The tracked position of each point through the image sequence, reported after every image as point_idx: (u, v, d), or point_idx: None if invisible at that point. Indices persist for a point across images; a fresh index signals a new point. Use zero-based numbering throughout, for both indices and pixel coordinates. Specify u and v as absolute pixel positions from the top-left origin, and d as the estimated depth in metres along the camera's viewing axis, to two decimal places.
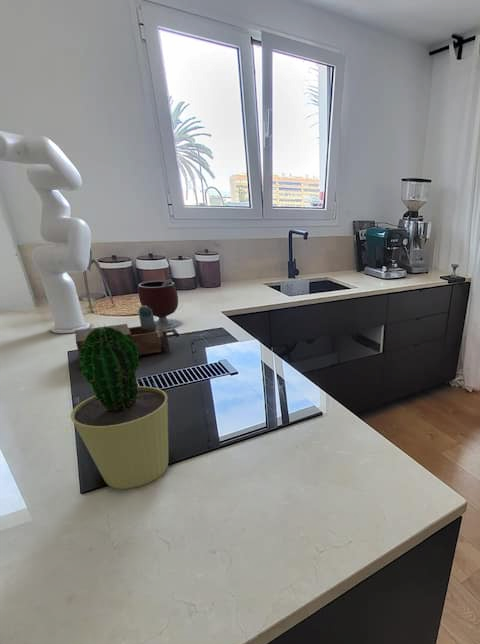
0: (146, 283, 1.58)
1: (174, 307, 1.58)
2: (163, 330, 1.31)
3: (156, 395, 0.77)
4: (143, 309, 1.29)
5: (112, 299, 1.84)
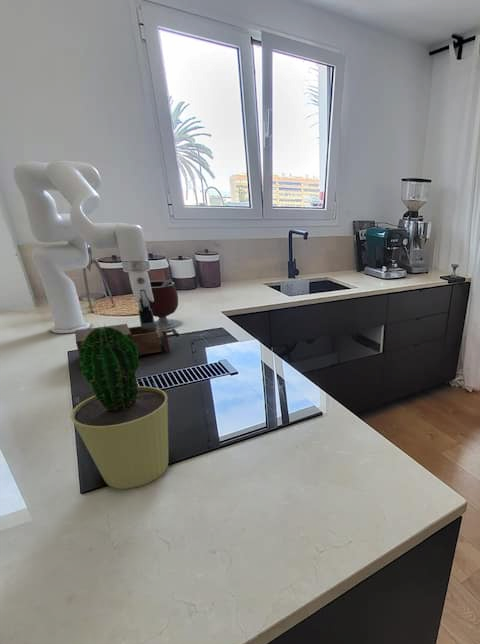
0: None
1: (174, 307, 1.58)
2: (163, 330, 1.31)
3: (156, 395, 0.77)
4: None
5: (112, 299, 1.84)
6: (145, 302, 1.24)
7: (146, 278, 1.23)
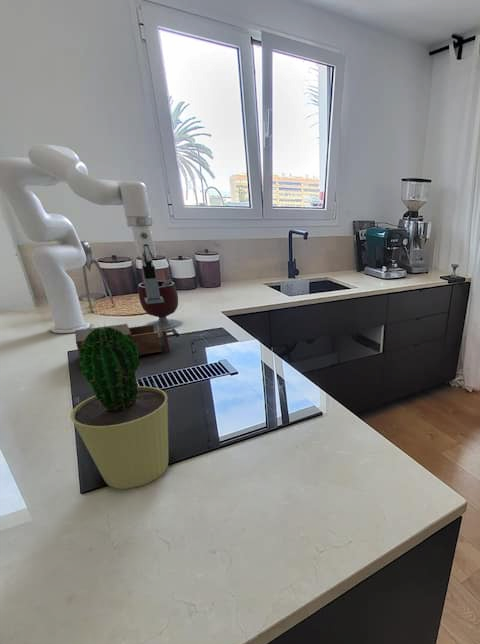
0: None
1: (174, 307, 1.58)
2: (163, 330, 1.31)
3: (156, 395, 0.77)
4: None
5: (112, 299, 1.84)
6: (148, 256, 1.31)
7: (149, 233, 1.29)
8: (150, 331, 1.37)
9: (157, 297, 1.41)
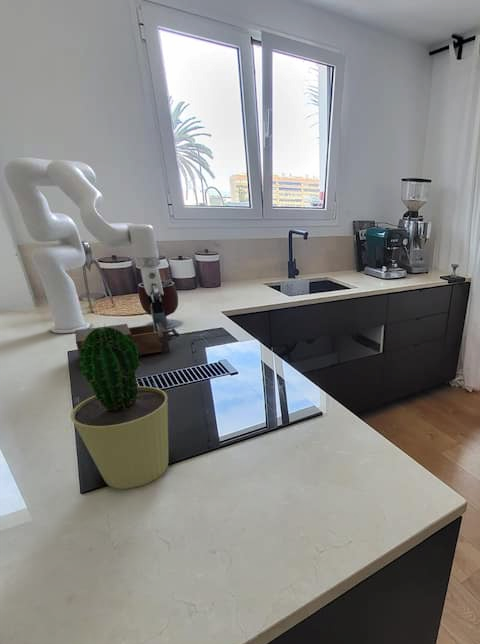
0: None
1: (174, 307, 1.58)
2: (163, 330, 1.31)
3: (156, 395, 0.77)
4: None
5: (112, 299, 1.84)
6: (154, 287, 1.35)
7: (156, 273, 1.35)
8: (150, 331, 1.37)
9: None
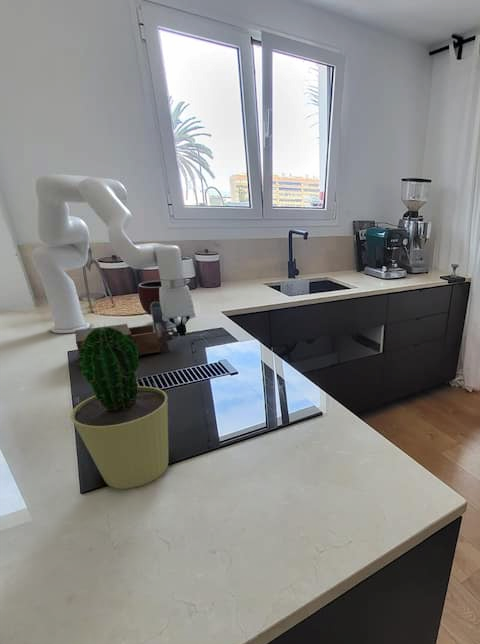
0: (146, 283, 1.58)
1: None
2: (162, 330, 1.31)
3: (156, 395, 0.77)
4: (154, 304, 1.42)
5: (112, 299, 1.84)
6: (194, 313, 1.40)
7: None
8: (149, 331, 1.37)
9: None
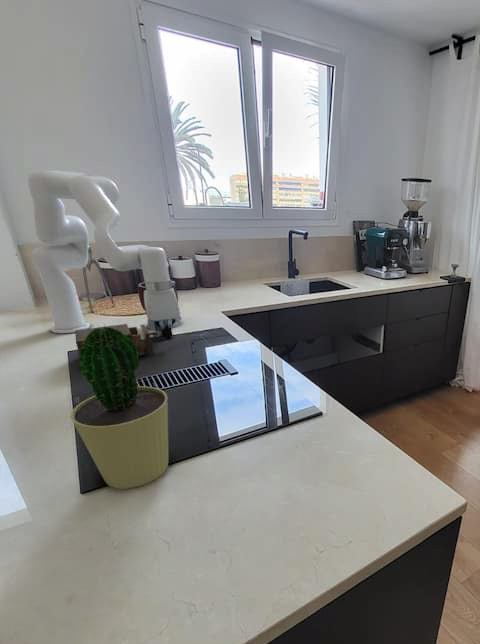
0: None
1: None
2: (146, 332, 1.28)
3: (156, 395, 0.77)
4: None
5: (112, 299, 1.84)
6: (180, 316, 1.37)
7: None
8: (133, 333, 1.34)
9: None
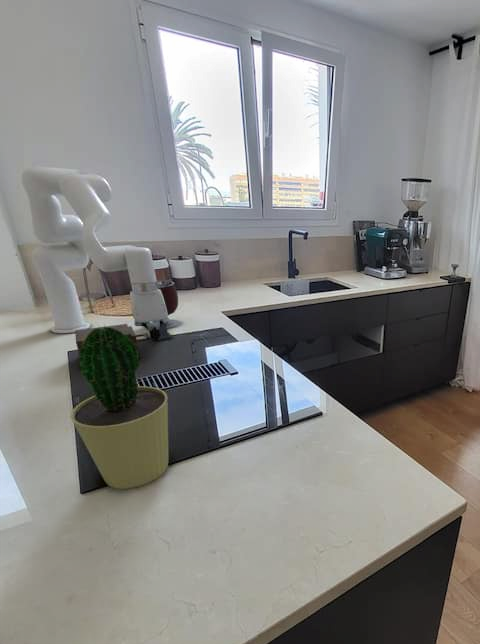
0: None
1: (174, 307, 1.58)
2: (133, 334, 1.26)
3: (156, 395, 0.77)
4: None
5: (112, 299, 1.84)
6: None
7: None
8: None
9: (165, 334, 1.47)
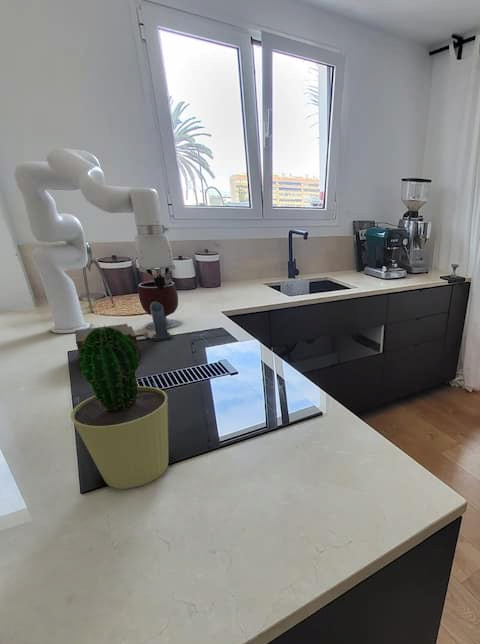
0: (146, 283, 1.58)
1: (174, 307, 1.58)
2: (133, 334, 1.26)
3: (156, 395, 0.77)
4: (154, 304, 1.42)
5: (112, 299, 1.84)
6: None
7: None
8: None
9: (165, 334, 1.47)
